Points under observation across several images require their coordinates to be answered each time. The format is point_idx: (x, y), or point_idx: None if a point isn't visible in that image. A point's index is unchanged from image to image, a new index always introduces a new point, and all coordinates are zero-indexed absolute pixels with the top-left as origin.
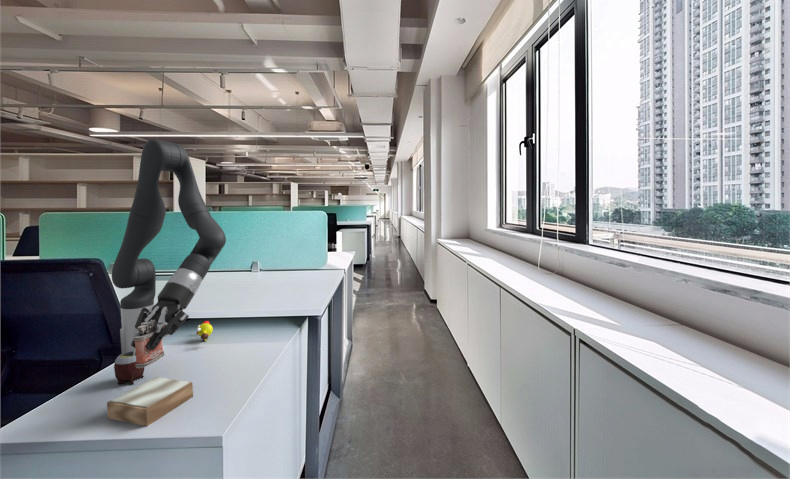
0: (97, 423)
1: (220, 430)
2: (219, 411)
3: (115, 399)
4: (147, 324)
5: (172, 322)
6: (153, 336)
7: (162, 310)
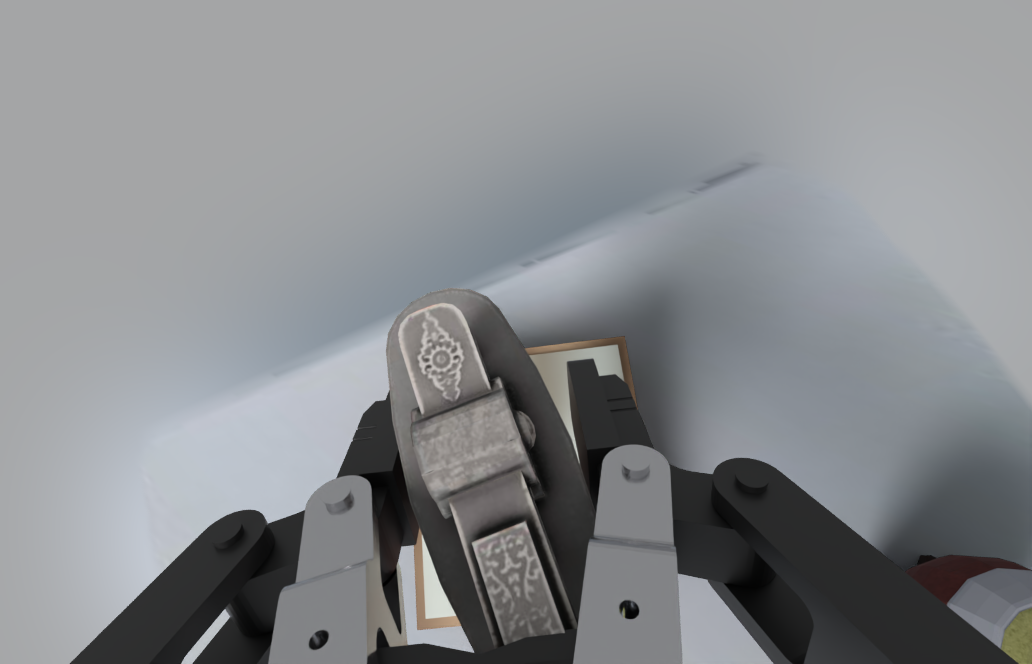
0: (615, 321)
1: (153, 456)
2: None
3: (606, 357)
4: (421, 421)
5: (104, 643)
6: (379, 443)
7: None
